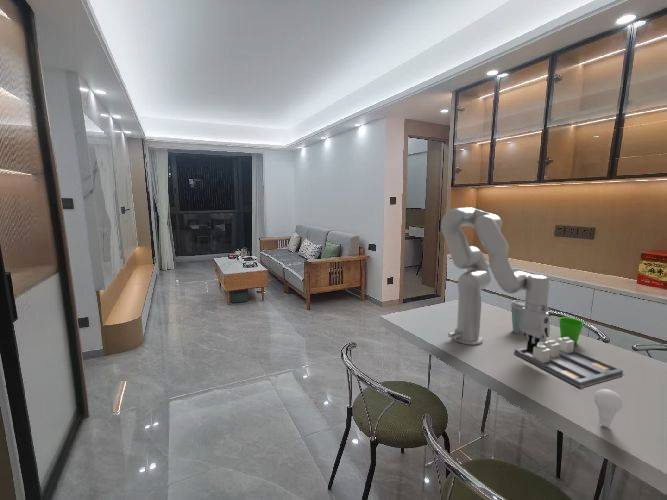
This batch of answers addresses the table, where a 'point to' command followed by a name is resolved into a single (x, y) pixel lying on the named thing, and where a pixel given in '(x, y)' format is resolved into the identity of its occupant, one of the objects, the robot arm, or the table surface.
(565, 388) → the table surface
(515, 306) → the disposable coffee cup
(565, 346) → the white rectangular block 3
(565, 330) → the cup
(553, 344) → the white stepped block
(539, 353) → the white stepped block
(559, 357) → the switch board
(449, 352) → the table surface
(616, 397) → the lightbulb
